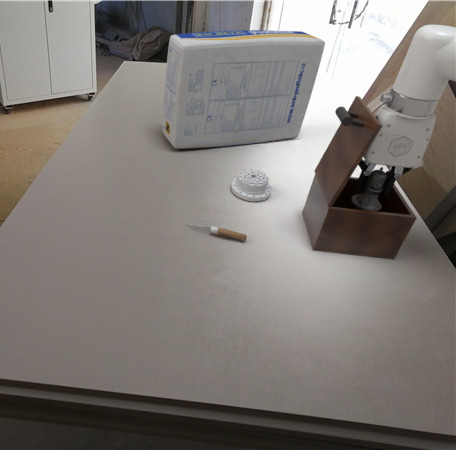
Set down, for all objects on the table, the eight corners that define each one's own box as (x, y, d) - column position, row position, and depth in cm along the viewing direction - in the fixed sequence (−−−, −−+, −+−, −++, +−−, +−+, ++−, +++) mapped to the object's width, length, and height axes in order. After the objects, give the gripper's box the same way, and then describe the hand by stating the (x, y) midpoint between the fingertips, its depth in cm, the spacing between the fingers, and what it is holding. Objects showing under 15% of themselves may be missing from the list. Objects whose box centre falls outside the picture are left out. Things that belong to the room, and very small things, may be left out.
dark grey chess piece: (369, 228, 83) (393, 178, 76) (341, 215, 86) (361, 166, 79) (379, 216, 87) (402, 167, 79) (352, 204, 90) (372, 156, 82)
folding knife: (183, 229, 88) (184, 222, 87) (185, 225, 90) (185, 218, 88) (245, 244, 85) (246, 236, 84) (246, 239, 87) (247, 232, 85)
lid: (360, 96, 78) (336, 90, 78) (382, 125, 67) (355, 118, 67) (317, 172, 89) (296, 166, 89) (331, 207, 78) (307, 200, 78)
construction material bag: (280, 124, 136) (305, 27, 118) (300, 139, 127) (329, 37, 109) (160, 136, 124) (166, 31, 106) (172, 153, 116) (181, 42, 98)
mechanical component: (246, 176, 108) (222, 189, 102) (249, 162, 105) (225, 174, 99) (278, 192, 102) (254, 207, 96) (282, 177, 99) (258, 191, 94)
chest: (373, 220, 95) (392, 181, 88) (394, 259, 84) (417, 217, 77) (302, 212, 96) (315, 173, 89) (312, 250, 85) (328, 208, 78)
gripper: (369, 107, 69) (334, 196, 80) (470, 116, 68) (420, 205, 79) (357, 91, 75) (326, 177, 86) (450, 100, 74) (406, 185, 85)
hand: (372, 189), depth 82 cm, fingers closed on dark grey chess piece, 3 cm apart
